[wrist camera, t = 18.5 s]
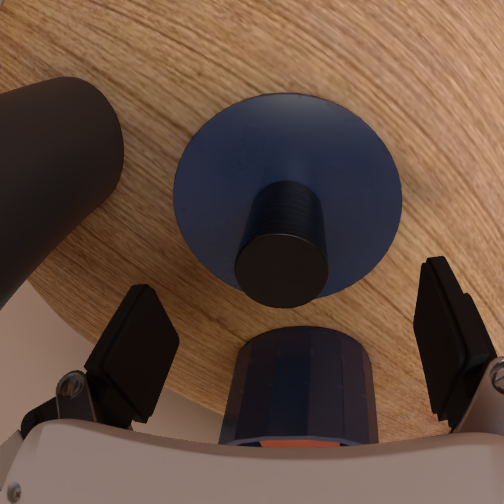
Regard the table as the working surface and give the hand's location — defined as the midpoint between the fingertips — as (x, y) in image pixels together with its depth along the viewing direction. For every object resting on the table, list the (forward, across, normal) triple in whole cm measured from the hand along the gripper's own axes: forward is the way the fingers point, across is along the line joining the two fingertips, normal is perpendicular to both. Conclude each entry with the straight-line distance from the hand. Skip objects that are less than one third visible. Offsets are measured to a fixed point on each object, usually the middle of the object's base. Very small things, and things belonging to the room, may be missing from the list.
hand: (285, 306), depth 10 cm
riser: (+8, +13, -7) cm, 16 cm away
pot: (+8, +1, +15) cm, 17 cm away
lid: (+7, 0, 0) cm, 7 cm away
